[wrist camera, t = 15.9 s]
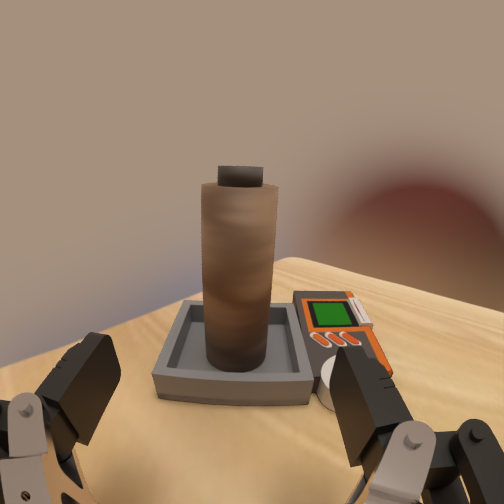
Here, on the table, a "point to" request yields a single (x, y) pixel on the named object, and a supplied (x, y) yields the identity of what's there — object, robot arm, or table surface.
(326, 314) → the electronic device
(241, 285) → the pepper mill
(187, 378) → the tray
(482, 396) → the table surface
